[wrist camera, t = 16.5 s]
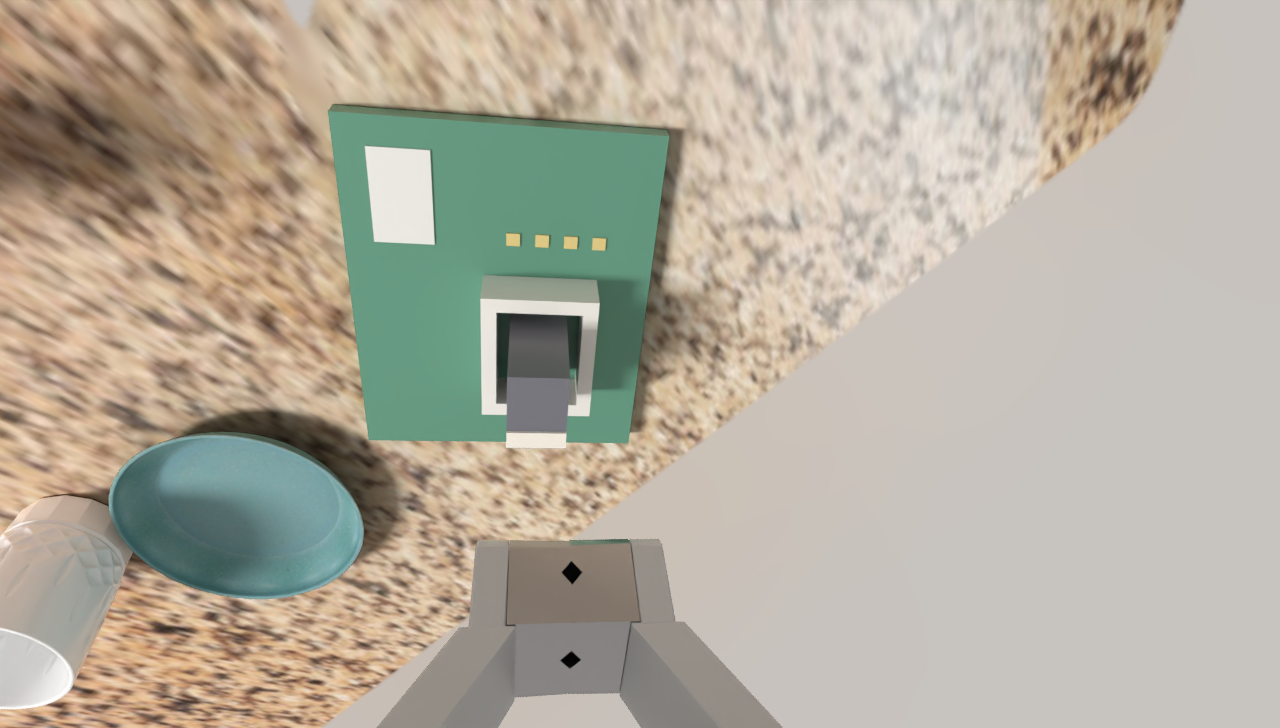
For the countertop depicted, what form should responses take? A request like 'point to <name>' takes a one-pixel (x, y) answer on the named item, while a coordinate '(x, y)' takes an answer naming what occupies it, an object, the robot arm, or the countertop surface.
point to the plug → (537, 381)
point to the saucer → (236, 515)
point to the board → (493, 262)
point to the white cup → (54, 595)
